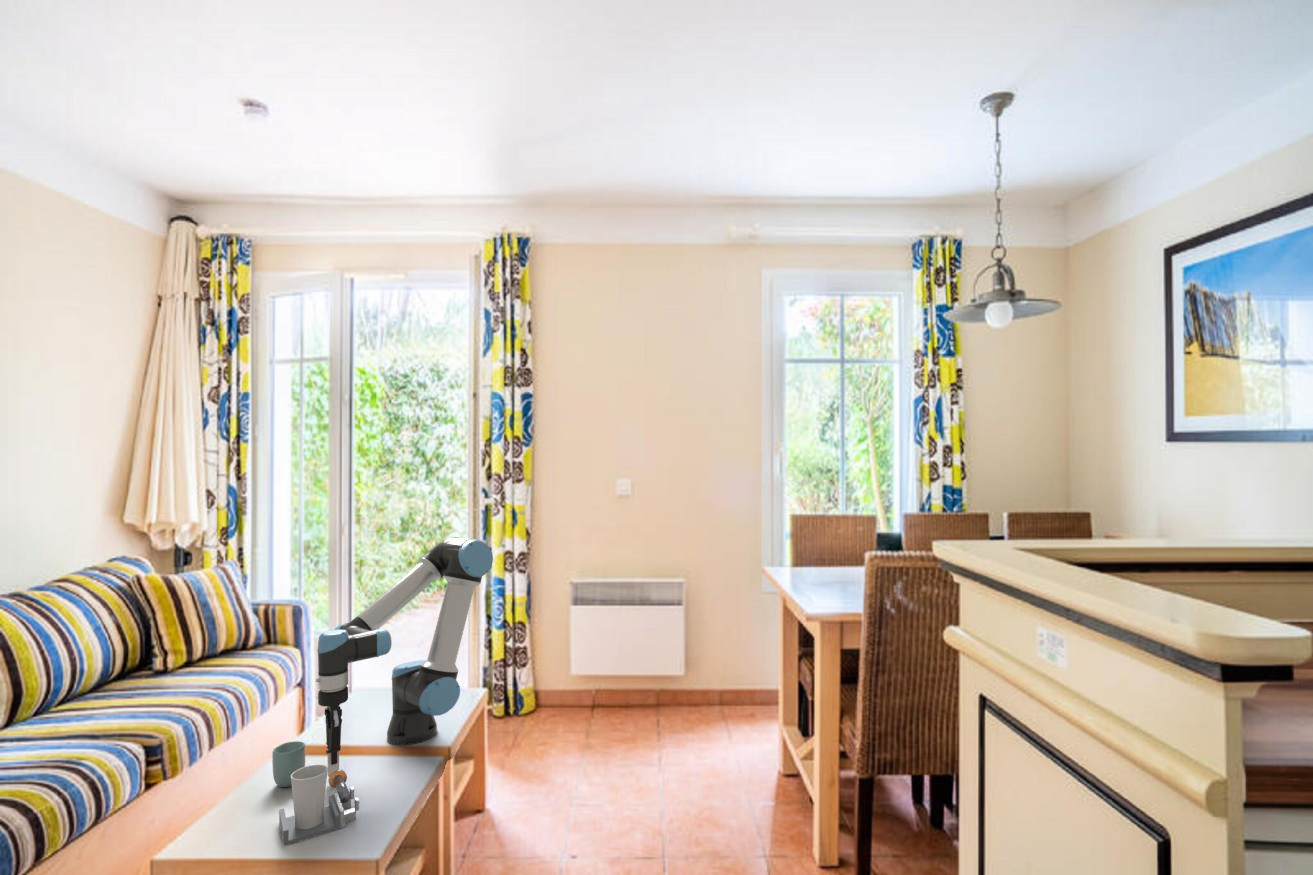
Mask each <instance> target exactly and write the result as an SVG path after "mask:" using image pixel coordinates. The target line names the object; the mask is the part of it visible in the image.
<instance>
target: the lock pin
mask: <svg viewBox="0 0 1313 875" xmlns="http://www.w3.org/2000/svg"><path fill="white" fill-rule="evenodd" d="M345 771H346V770H345ZM345 771H344V770H343V769H339V770H336V771H334V772H333V773H331V775H330V776H329V777H328V780H327V781H328V782H327V783H328V785H329V787H330V788H333V789H335V791H337V794H338V796H339V799H340V801H341V802H342V803H346V802H348V801H349V800H350V797H351V796H350V790H349V789H348V786H347V784H346V782H347V780H348V775H347V772H345Z"/></svg>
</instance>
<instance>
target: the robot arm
mask: <svg viewBox="0 0 1313 875" xmlns="http://www.w3.org/2000/svg"><path fill="white" fill-rule="evenodd" d="M493 562H494V556H493V552H492V550H491V548H490V546H489V545H488V544H487V543H486V542H485V541H482V540H479V539H476V538H467V537H466V538H465V537H458V536H457V537H456V536H455V537H450V538H446V539H445V540H442V541H441V542H439V543H437V544H436V545H435V546H434V547H432V548H431V549H430V550H428V551H427V552H426V553H425V554H423V555H422V556H421V557H420V558H419V560H418V563H417V564H416V565H415V566H414V567H413V568H412V569H411V570H410V571H408V572H407V573H406V574H404V576H402V577H401V578H400V579H399V580H398V581H397V582H396V583H394V584H393V585H392V586H391V587H389V589H387V590H386V591H385V592H384V593H383V594H381V595H380V596H379V597H378V598H377V599H376V600H374V601H373V602H372V603H371V604H369V606H367V607H366V608H365V609H364V610H363V611H362V612H360V613H359V614H358V615H357V616H356V617H354V618H353V619H352V620H351V621H350V622H345V623H341V624H338V625H337V626H336V627H335V628H334V629H332V630H326V631H323V632H322V633H320V635H319V636H318V642H317V666H318V668H317V670H318V671H317V672H318V673H317V675H318V678H316V679H315V682H316V683H317V684H318V685H317V686H318V689H319V690H318V692H317V704H318V705H319V706H320V707H325V708H324V716H325V733H326V734H325V736H326V737H325V738H326V742H325V744H326V746H327V747H326V749H327V750H325V754H326V755H327V768H328V769H327V778H329V776H330V775H331V773H333V772H334V771H336V770H340V751H341V750H342V748H341V746H342V745H341V744H342V743H341V740H342V738H341V737H342V723H343V719H342V715H343V709H342V708H341V705H342V704H344V703H346V702H347V701H348V700H349V687H348V685H349V664H350V663H351V664H352V663H354V662H359V661H364V660H368V659H373V658H379V657H381V656H384V655H385V656H386V655H387V654H389V652H390V651H391V648H392V637H391V633H390V631H389V630H387V629H385V628H382V627H383V626H384V625H386V623H387V622H389V621H390V620H391V619H392V618H393V617H395V615H397V614H398V613H399V612H400V611H401V610H402V609H403V608H404V607H405V606H407V605H408V604H409V603H410V602H411V601H412V600H414V599H415V598H417V596H418V595H419V594H421V592H423V591H424V590H425V589H426V588H427V587H428V586H429V585H431V584H432V583H433V582H434V581H440V580H441V579H442V578H443V577H444V578H445V580H446V582H447V584H446V587H445V588H446V589H445V592H444V595H443V600H442V604H441V607H440V611H439V613H438V614H439V615H438V618H437V622H436V626H435V629H434V633H433V637H432V639H431V645H430V648H429V653H428V656H427V659H426V660H425V659H424V660H423V659H422V660H412V661H407V662H404V663H401V664H398V665H396V666H394V667H393V668H392V674H391V691H392V692H391V693H392V697H391V698H392V715H391V719H390V722H389V725H388V727H387V731H386V741H387V742H388V743H390V744H393V745H397V746H398V745H401V746H402V745H413V744H418V743H421V742H424V741H427V740H430V739H431V738H433V737H434V736H436V734H437V733H438V728H437V727H438V725H437V720H436V719H435V716H442V715H445V714H446V713H449V711H451V710H452V709H453V708H454V707H455V705H456V704H457V703H458V701H459V698H460V694H461V686H460V685H459V682H458V680H457V678H458V673H459V669H458V667H457V666H456V662H457V657H458V655H459V654H458V653H459V650H460V648H461V647H460V646H461V644H462V643H461V642H462V638H463V635H464V632H465V631H464V630H465V626H466V624H467V623H466V622H467V618H468V615H469V610H470V606H471V603H472V599H473V596H474V595H473V594H474V591H475V588H477V587H478V586H479V585H481V583H482V580H483V577H484V576H485V575H486V574H487V573H489V572H490V570H491V569H492V566H493ZM380 628H381V629H380Z"/></svg>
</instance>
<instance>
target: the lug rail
mask: <svg viewBox="0 0 1313 875" xmlns="http://www.w3.org/2000/svg"><path fill="white" fill-rule="evenodd" d="M349 793H350V796H351V797H350V800H349V801H348V802H346V803H342V802H341V801H340V798H339V796H338V793H337V790H334V791H332V795H333V796H334V799H335V801H336V804H337V807H338V809H339V812H340V815H341V829H344V828H345V824H346V823H347V824H348V823H351V822H354V821H357V812H358V811H360V799H359V797H358V796H357V797H355V788H354V786H353V785H352V786H349ZM352 800H354V807H353V808H352Z"/></svg>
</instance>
